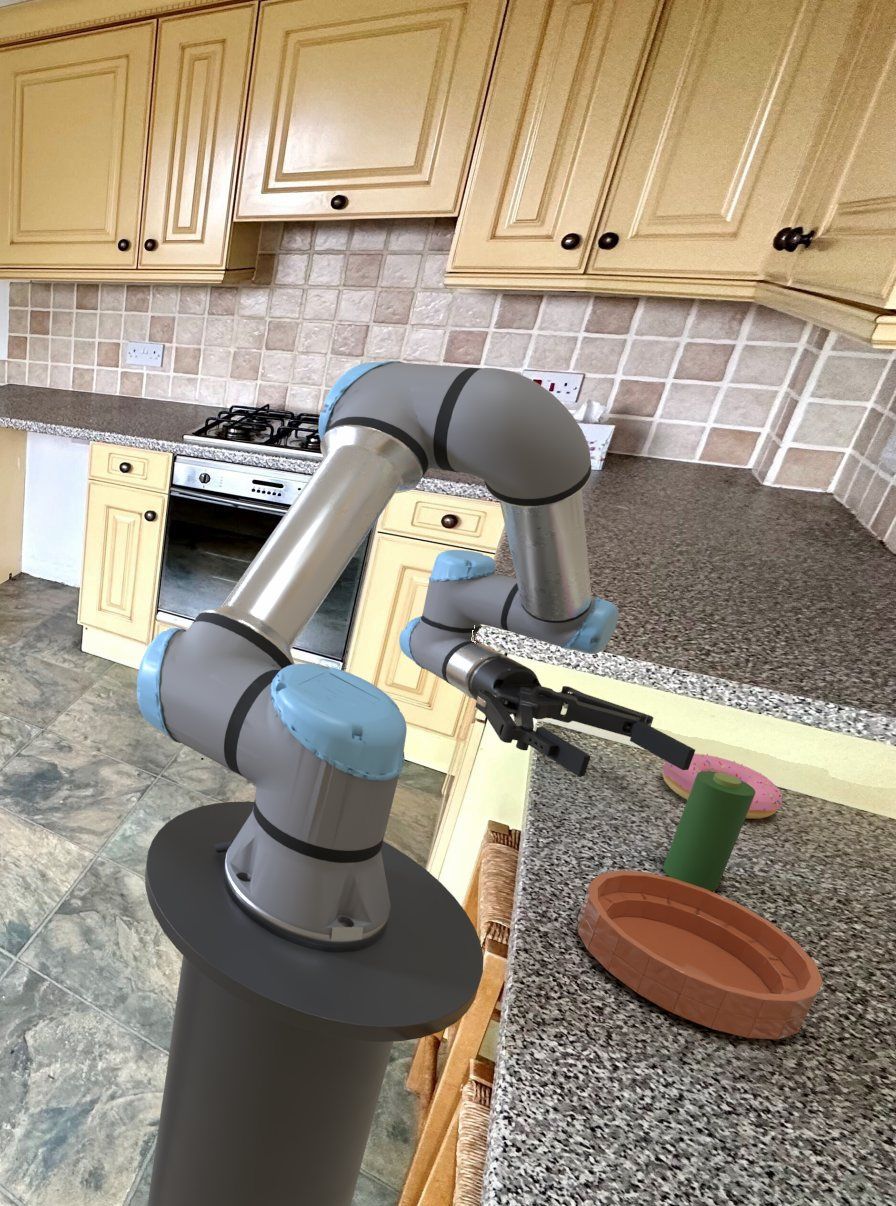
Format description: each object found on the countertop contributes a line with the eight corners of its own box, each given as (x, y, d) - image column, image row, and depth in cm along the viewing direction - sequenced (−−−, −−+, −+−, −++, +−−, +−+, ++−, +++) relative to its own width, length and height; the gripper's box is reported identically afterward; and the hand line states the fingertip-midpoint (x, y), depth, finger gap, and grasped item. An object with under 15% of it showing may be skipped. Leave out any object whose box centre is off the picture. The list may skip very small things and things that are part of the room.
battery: (664, 879, 84) (701, 779, 80) (661, 858, 87) (696, 761, 83) (720, 897, 81) (761, 795, 78) (714, 875, 85) (754, 776, 81)
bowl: (574, 980, 71) (589, 937, 69) (576, 888, 82) (589, 849, 81) (818, 1082, 62) (842, 1034, 60) (781, 962, 73) (800, 920, 72)
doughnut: (656, 798, 98) (666, 770, 97) (658, 763, 106) (668, 737, 104) (779, 837, 91) (792, 807, 90) (772, 797, 99) (784, 768, 97)
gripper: (565, 699, 112) (721, 784, 92) (406, 707, 110) (531, 797, 90) (579, 652, 110) (742, 729, 90) (417, 659, 107) (548, 740, 87)
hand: (637, 763), depth 90 cm, fingers open, 13 cm apart
